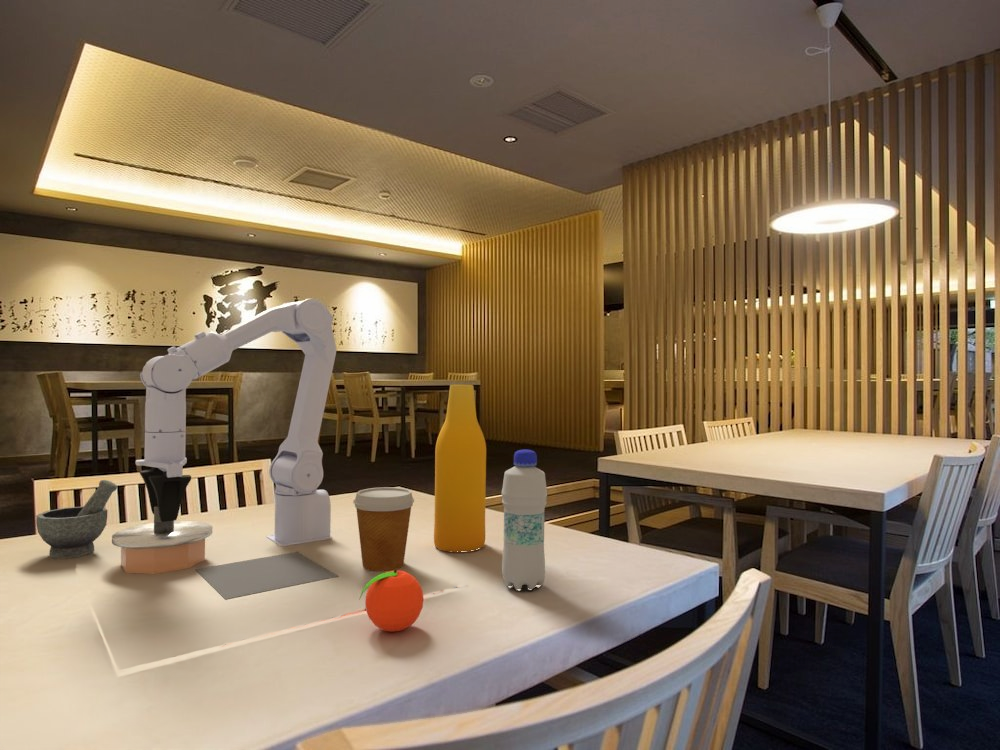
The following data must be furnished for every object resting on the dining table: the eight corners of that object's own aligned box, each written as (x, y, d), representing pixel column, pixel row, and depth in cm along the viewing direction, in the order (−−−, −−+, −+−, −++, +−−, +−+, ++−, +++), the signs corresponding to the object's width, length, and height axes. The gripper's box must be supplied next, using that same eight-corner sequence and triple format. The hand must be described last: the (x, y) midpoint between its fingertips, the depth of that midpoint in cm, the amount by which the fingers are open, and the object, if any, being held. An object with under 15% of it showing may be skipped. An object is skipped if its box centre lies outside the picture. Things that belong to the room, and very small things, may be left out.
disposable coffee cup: (424, 563, 100) (425, 490, 100) (390, 581, 92) (391, 500, 92) (376, 556, 104) (377, 485, 104) (339, 571, 96) (340, 494, 96)
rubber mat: (297, 554, 105) (297, 551, 105) (338, 579, 92) (338, 575, 92) (195, 572, 95) (195, 569, 95) (225, 602, 82) (225, 599, 82)
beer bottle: (472, 556, 105) (474, 385, 105) (424, 549, 109) (426, 384, 109) (493, 542, 114) (495, 385, 114) (448, 537, 117) (450, 384, 117)
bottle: (551, 582, 92) (553, 448, 92) (539, 597, 86) (541, 453, 86) (508, 576, 94) (510, 445, 94) (493, 591, 88) (495, 450, 88)
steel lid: (203, 522, 108) (203, 494, 108) (221, 539, 97) (221, 509, 97) (108, 533, 100) (108, 503, 100) (115, 553, 88) (116, 520, 88)
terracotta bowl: (192, 551, 106) (193, 524, 106) (210, 567, 97) (210, 538, 97) (117, 562, 99) (118, 534, 99) (129, 580, 90) (129, 550, 90)
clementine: (371, 649, 69) (372, 585, 69) (347, 628, 75) (348, 569, 75) (433, 632, 74) (434, 572, 74) (406, 614, 79) (407, 558, 79)
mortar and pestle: (30, 564, 97) (31, 488, 97) (40, 549, 105) (41, 479, 106) (114, 555, 103) (115, 483, 103) (117, 542, 111) (118, 475, 111)
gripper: (128, 428, 101) (127, 511, 101) (145, 436, 90) (144, 529, 90) (176, 427, 106) (175, 506, 106) (198, 433, 94) (196, 522, 94)
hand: (164, 516), depth 98 cm, fingers open, 6 cm apart
